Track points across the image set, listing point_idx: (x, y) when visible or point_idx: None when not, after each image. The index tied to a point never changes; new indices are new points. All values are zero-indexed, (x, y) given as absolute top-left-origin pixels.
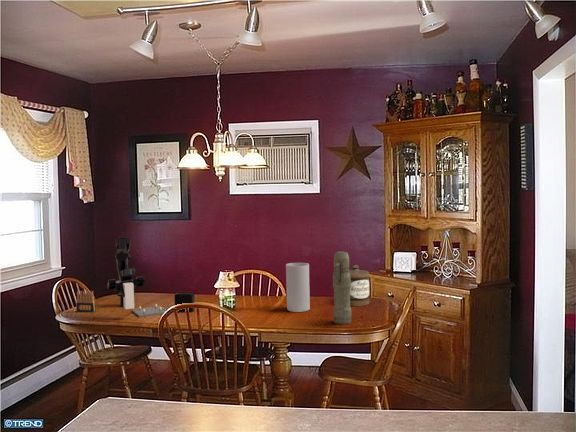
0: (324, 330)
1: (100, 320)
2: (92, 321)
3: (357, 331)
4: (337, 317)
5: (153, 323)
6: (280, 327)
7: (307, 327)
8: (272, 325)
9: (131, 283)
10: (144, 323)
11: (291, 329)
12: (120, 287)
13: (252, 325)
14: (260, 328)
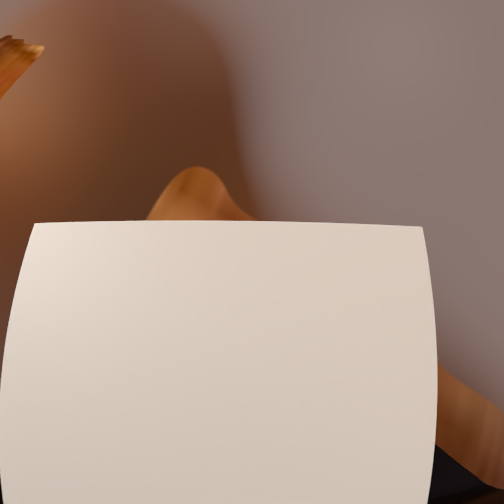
0: (13, 39)
1: (452, 451)
2: (492, 441)
3: (6, 36)
4: None
5: (176, 179)
6: (17, 55)
7: (5, 52)
8: (9, 66)
9: (48, 338)
10: (217, 204)
11: (22, 44)
12: (457, 482)
13: (21, 71)
14: (35, 52)
